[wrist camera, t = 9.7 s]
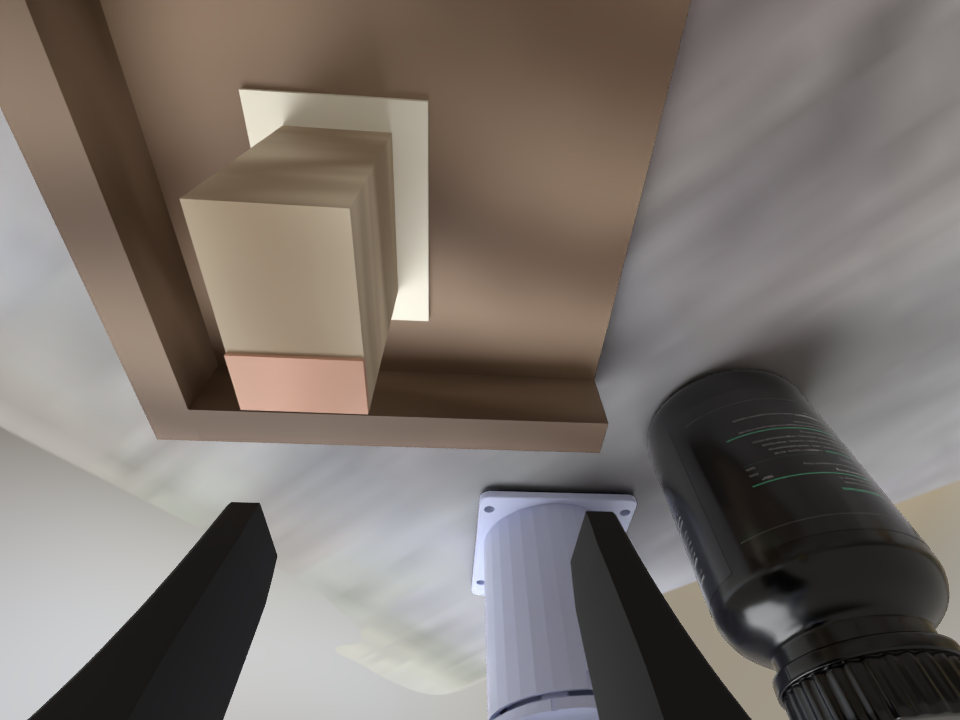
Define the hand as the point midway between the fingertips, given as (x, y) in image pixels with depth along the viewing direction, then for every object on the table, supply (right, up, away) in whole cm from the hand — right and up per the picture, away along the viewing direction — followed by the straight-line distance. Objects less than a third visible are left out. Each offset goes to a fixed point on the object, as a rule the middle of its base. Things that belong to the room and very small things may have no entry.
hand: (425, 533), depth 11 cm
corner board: (-2, +9, +5) cm, 10 cm away
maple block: (-3, +8, +4) cm, 10 cm away
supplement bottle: (+12, +1, +11) cm, 17 cm away
